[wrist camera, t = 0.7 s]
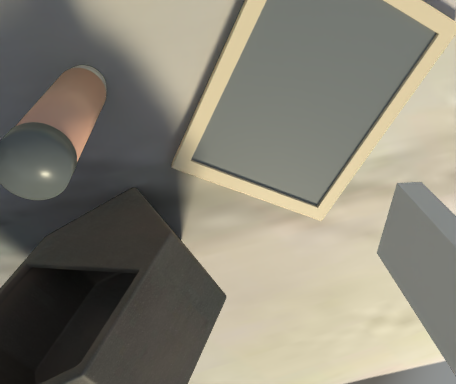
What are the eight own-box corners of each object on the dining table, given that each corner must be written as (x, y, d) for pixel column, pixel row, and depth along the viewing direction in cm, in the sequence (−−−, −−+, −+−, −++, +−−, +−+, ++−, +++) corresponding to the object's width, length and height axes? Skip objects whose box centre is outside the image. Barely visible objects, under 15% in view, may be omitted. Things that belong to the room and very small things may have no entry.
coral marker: (56, 97, 29) (-15, 186, 19) (67, 53, 28) (-3, 123, 17) (102, 114, 31) (60, 208, 20) (116, 73, 29) (78, 151, 18)
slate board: (171, 162, 34) (171, 168, 33) (283, -86, 25) (286, -87, 24) (318, 215, 38) (321, 221, 38) (454, 23, 30) (461, 25, 29)
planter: (205, 175, 29) (2, 500, 17) (252, 242, 33) (116, 544, 21) (80, 195, 39) (-102, 404, 27) (127, 243, 43) (-14, 445, 31)
